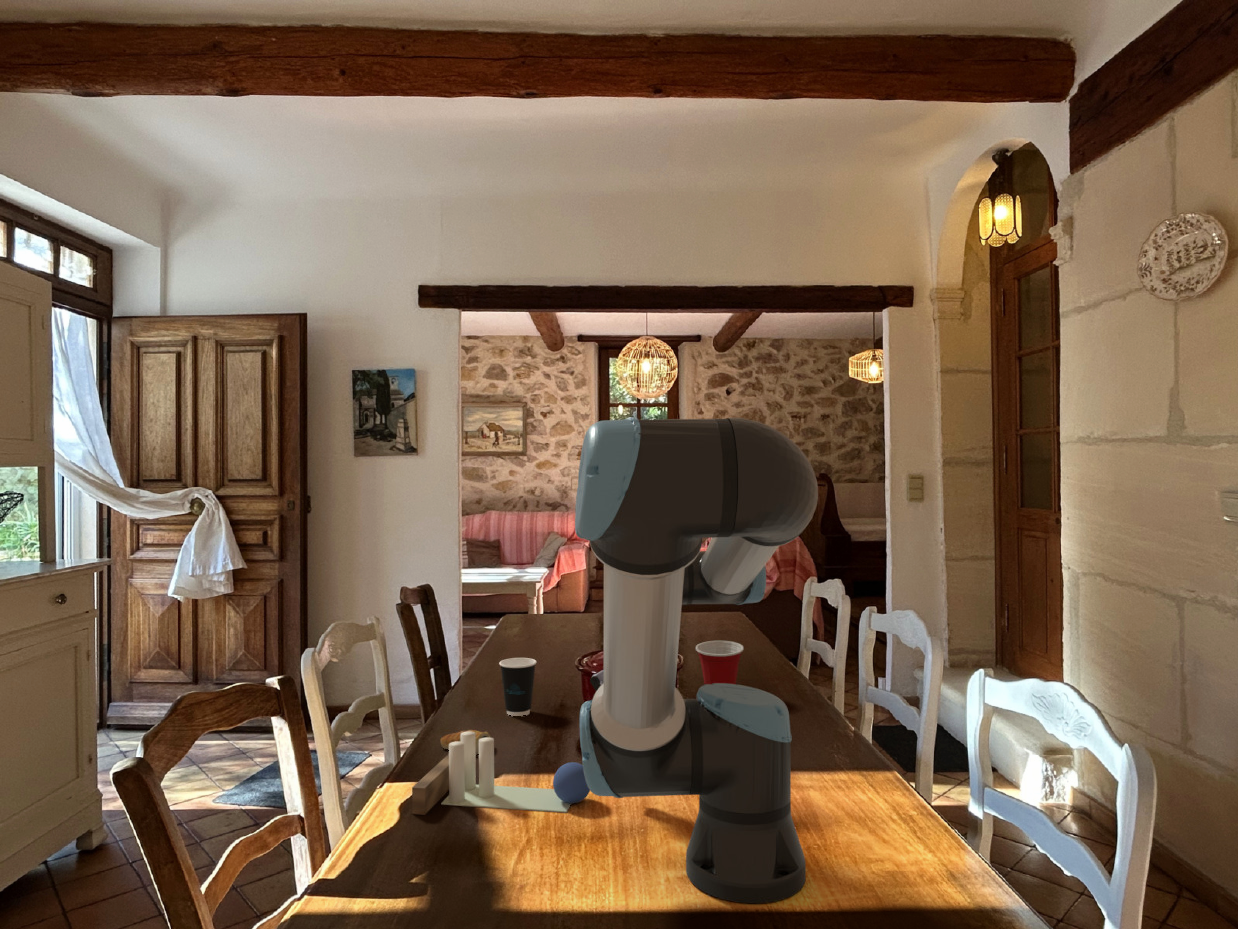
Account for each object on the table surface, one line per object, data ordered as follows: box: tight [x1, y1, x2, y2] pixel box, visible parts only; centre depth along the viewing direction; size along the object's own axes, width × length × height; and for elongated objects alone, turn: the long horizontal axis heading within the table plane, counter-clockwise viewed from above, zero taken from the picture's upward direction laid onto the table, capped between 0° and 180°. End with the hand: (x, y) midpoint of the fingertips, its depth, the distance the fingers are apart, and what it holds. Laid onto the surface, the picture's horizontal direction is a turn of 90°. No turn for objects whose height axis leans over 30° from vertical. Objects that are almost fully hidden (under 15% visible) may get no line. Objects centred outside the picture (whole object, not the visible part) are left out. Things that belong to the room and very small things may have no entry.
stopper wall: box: [411, 753, 449, 816], centre depth 131 cm, size 16×2×4 cm, turn 170°
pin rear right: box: [448, 741, 465, 803], centre depth 127 cm, size 2×2×9 cm
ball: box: [552, 761, 591, 804], centre depth 127 cm, size 6×6×6 cm
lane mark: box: [441, 783, 573, 813], centre depth 128 cm, size 8×20×1 cm, turn 80°
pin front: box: [478, 737, 495, 798], centre depth 129 cm, size 2×2×9 cm
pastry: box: [440, 729, 492, 756], centre depth 152 cm, size 9×7×4 cm
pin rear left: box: [460, 730, 477, 791], centre depth 132 cm, size 2×2×9 cm
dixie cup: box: [498, 657, 538, 717], centre depth 173 cm, size 8×8×11 cm
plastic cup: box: [695, 640, 744, 685], centre depth 183 cm, size 11×11×12 cm
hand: (632, 783), depth 126 cm, fingers closed
